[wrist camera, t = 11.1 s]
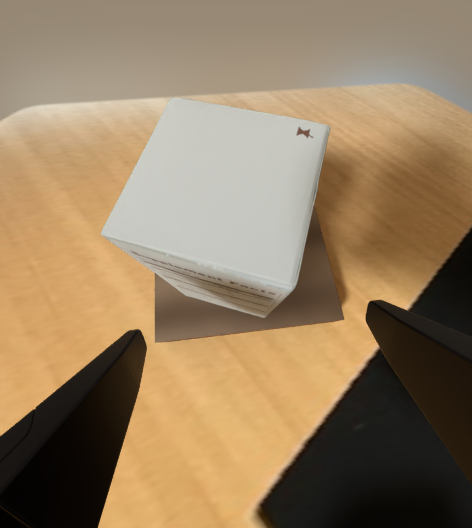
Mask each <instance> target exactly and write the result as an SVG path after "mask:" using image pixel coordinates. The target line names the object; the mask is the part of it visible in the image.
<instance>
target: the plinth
mask: <svg viewBox="0 0 472 528" xmlns="http://www.w3.org/2000/svg"><path fill="white" fill-rule="evenodd" d="M339 320H344V316H343V312H342V309H341V305H340V301H339V297H338V293H337V290H336V286H335V282H334V278H333V274H332V270H331V267H330V263H329V259H328V255H327V251H326V248H325V244H324V240H323V236H322V232H321V229H320V225H319V221H318V217H317V213H316V209H315V206H313V211H312V215H311V220H310V224H309V229H308V234H307V238H306V243H305V248H304V252H303V257H302V262H301V267H300V271H299V276H298V281H297V285H296V287H295V289H294V290H293V291H292V292H291V293H290V294H289V295H288V296H287V297H286V298H285V299H284V300H283V301H282V302H281V303H280V304H279V305H278V306H276V307H275V308H274V309H273V310H272V311H271V312H270V313H269V314H268V315H267V316H266V317H265V318H262V317H259V316H255V315H251V314H248V313H245V312H241V311H238V310H234V309H231V308H227V307H224V306H220V305H217V304H213V303H210V302H207V301H203V300H200V299H196V298H193V297H189V296H186V295H184V294H183V293H182V292H180V291H179V290H178V289H176V288H175V287H173V286H172V285H171V284H169V283H168V282H167V281H165V280H164V279H163V278H161V277H160V276H158V275H157V274H156V273H155V342H171V341H179V340H187V339H196V338H204V337H212V336H220V335H229V334H237V333H245V332H253V331H262V330H270V329H278V328H286V327H295V326H303V325H311V324H319V323H328V322H334V321H339Z"/></svg>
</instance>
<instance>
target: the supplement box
mask: <svg viewBox="0 0 472 528" xmlns="http://www.w3.org/2000/svg"><path fill="white" fill-rule="evenodd" d="M329 132H330V127H329V125H325V124H321V123H317V122H313V121H308V120H303V119H298V118H293V117H288V116H282V115H276V114H270V113H265V112H259V111H253V110H247V109H241V108H236V107H230V106H224V105H219V104H213V103H207V102H202V101H196V100H191V99H184V98H174V97H172V98H171V99H170V100H169V102H168V104H167V106H166V108H165V110H164V112H163V114H162V116H161V118H160V120H159V122H158V124H157V126H156V128H155V130H154V132H153V133H152V135H151V137H150V139H149V141H148V143H147V145H146V147H145V149H144V151H143V153H142V154H141V156H140V158H139V160H138V162H137V164H136V166H135V168H134V170H133V172H132V174H131V176H130V178H129V180H128V182H127V183H126V185H125V187H124V189H123V191H122V193H121V195H120V197H119V199H118V201H117V203H116V204H115V206H114V208H113V210H112V212H111V214H110V216H109V218H108V220H107V222H106V223H105V225H104V227H103V229H102V231H101V235H102V236H103V237H104V238H106V239H107V240H109V241H110V242H111V243H113V244H114V245H116V246H117V247H119V248H120V249H121V250H123V251H124V252H126V253H127V254H129V255H130V256H131V257H133V258H134V259H135V260H137V261H138V262H140V263H141V264H143V265H144V266H145V267H147V268H148V269H150V270H151V271H153V272H154V273H156V274H157V275H158V276H160V277H161V278H163V279H164V280H165V281H167V282H168V283H169V284H171V285H172V286H173V287H175V288H176V289H178V290H179V291H180V292H182V293H183V294H184V295H186V296H189V297H193V298H196V299H200V300H203V301H207V302H210V303H213V304H217V305H220V306H224V307H227V308H231V309H234V310H238V311H241V312H245V313H248V314H251V315H255V316H259V317H262V318H265V317H266V316H267V315H268V314H269V313H270V312H271V311H272V310H273V309H274V308H275V307H276V306H278V305H279V304H280V303H281V302H282V301H283V300H284V299H285V298H286V297H287V296H288V295H289V294H290V293H291V292H292V291H293V290H294V289H295V287H296V285H297V281H298V276H299V271H300V267H301V262H302V257H303V252H304V248H305V243H306V238H307V234H308V229H309V224H310V220H311V215H312V211H313V206H314V202H315V198H316V194H317V190H318V182H319V177H320V172H321V168H322V163H323V159H324V154H325V150H326V145H327V140H328V136H329Z"/></svg>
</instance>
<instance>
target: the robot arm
mask: <svg viewBox="0 0 472 528" xmlns="http://www.w3.org/2000/svg"><path fill="white" fill-rule="evenodd" d="M366 323H367V325H368V327H369V328H370V330H371V332H372V334H373V336H374V338H375V339H376V341H377V343H378V345H379V347H380V349H381V350H382V352H383V354H384V356H385V357H386V359H387V361H388V362H389V364H390V365H391V367H392V368H393V370H394V371H395V373H396V374H397V375H398V377H399V378H400V380H401V381H402V383H403V384H404V386H405V387H406V389H407V390H408V392H409V393H410V395H411V396H412V397H413V399H414V400H415V402H416V403H417V405H418V406H419V408H420V409H421V411H422V412H423V414H424V415H425V417H426V418H427V419H428V421H429V422H430V424H431V425H432V427H433V428H434V430H435V431H436V433H437V434H438V436H439V437H440V438H441V440H442V441H443V443H444V444H445V446H446V447H447V449H448V450H449V452H450V453H451V455H452V456H453V458H454V459H455V460H456V462H457V463H458V465H459V466H460V468H461V469H462V471H463V472H464V474H465V475H466V477H467V478H468V480H469V481H470V482H471V484H472V337H470V336H468V335H465V334H463V333H461V332H458V331H456V330H453V329H451V328H448V327H446V326H444V325H441V324H439V323H436V322H434V321H431V320H429V319H426V318H424V317H422V316H419V315H417V314H414V313H412V312H409V311H407V310H405V309H402V308H400V307H397V306H395V305H392V304H390V303H388V302H385V301H383V300H374V301H370V302H369V303H368V307H367V313H366ZM146 351H147V346H146V342H145V340H144V337H143V335H142V332H141V331H140V330H139V329H136V330H129V331H128V332H126V333H125V334H124V335H123V336H121V337H120V338H119V339H118V340H117V341H115V342H114V343H113V344H112V345H111V346H109V347H108V348H107V349H106V350H105V351H103V352H102V353H101V354H100V355H98V356H97V357H96V358H95V359H94V360H92V361H91V362H90V363H89V364H88V365H86V366H85V367H84V368H83V369H82V370H80V371H79V372H78V373H77V374H76V375H74V376H73V377H72V378H71V379H70V380H68V381H67V382H66V383H65V384H63V385H62V386H61V387H60V388H59V389H57V390H56V391H55V392H54V393H53V394H51V395H50V396H49V397H48V398H47V399H45V400H44V401H43V402H42V403H41V404H39V405H38V406H37V407H36V409H34V410H32V411H31V412H30V413H28V414H27V415H26V416H25V417H24V418H22V419H21V420H20V421H19V422H17V423H16V424H15V425H14V426H13V427H11V428H10V429H9V430H8V431H6V432H5V433H4V434H3V435H1V436H0V528H98V525H99V522H100V518H101V515H102V512H103V508H104V505H105V502H106V499H107V495H108V492H109V489H110V485H111V482H112V479H113V475H114V472H115V469H116V465H117V462H118V459H119V455H120V452H121V449H122V445H123V442H124V439H125V435H126V432H127V429H128V425H129V422H130V419H131V415H132V412H133V409H134V405H135V402H136V399H137V395H138V392H139V388H140V383H141V378H142V372H143V367H144V362H145V356H146Z"/></svg>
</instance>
